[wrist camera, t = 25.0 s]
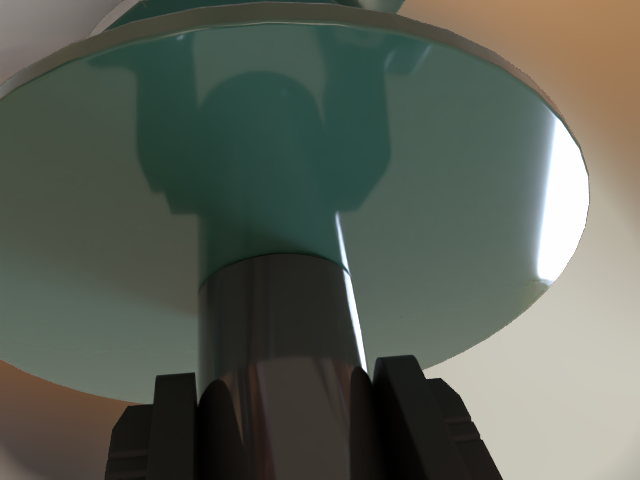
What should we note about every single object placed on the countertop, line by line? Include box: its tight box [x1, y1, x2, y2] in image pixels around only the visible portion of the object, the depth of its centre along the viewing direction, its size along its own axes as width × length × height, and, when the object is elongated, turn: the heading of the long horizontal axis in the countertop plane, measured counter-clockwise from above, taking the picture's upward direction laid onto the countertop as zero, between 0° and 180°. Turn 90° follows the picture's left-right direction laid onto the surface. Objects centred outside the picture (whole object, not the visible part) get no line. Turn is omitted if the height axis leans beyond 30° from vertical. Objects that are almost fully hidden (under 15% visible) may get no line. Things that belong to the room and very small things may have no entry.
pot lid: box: [0, 2, 590, 480], centre depth 12 cm, size 14×14×7 cm
